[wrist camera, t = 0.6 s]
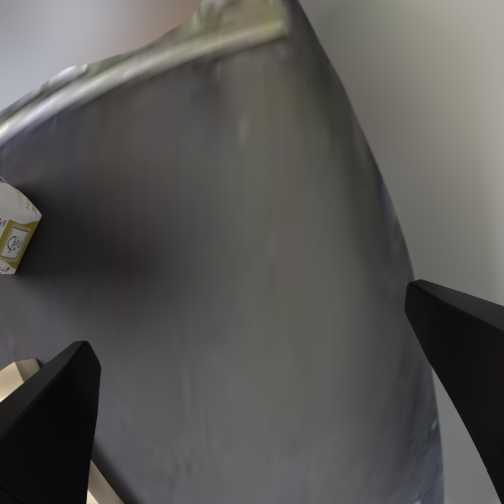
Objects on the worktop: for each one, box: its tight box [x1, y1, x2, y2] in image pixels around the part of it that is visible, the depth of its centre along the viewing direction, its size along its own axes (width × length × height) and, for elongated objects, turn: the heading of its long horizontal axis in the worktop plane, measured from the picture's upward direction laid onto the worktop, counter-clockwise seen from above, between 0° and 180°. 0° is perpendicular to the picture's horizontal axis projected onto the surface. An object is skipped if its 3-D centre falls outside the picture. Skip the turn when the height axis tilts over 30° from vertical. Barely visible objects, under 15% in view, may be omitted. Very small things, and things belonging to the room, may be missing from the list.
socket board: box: [0, 358, 124, 504], centre depth 18 cm, size 20×17×3 cm
